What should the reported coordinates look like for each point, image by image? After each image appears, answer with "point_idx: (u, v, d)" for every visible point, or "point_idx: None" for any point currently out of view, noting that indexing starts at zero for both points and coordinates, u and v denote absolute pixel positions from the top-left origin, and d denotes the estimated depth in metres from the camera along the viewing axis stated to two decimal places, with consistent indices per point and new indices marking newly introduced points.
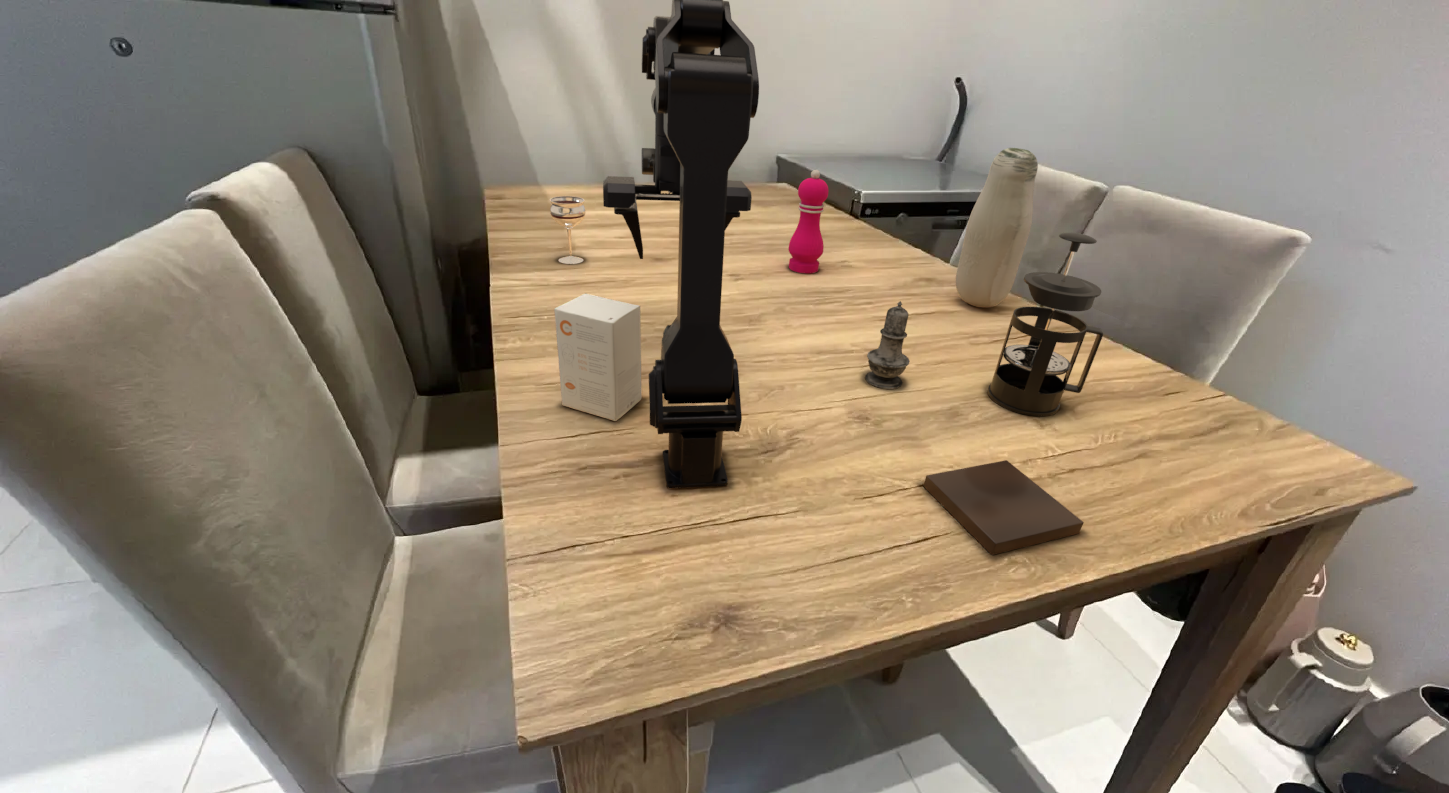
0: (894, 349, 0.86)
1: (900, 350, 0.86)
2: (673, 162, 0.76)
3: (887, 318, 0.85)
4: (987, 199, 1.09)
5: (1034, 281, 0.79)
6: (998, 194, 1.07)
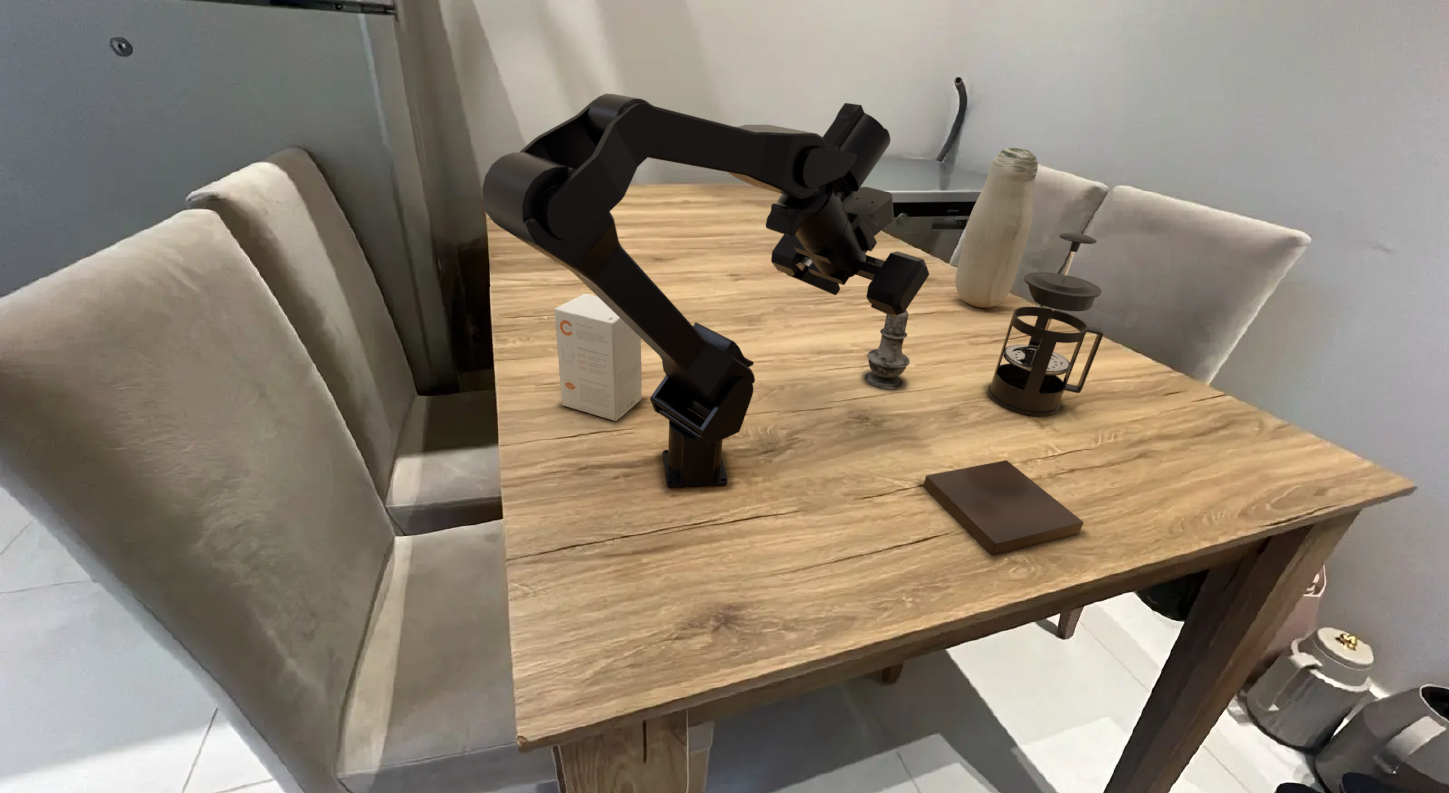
0: (894, 349, 0.86)
1: (900, 350, 0.86)
2: (811, 258, 0.69)
3: (887, 318, 0.85)
4: (987, 199, 1.09)
5: (1034, 281, 0.79)
6: (998, 194, 1.07)
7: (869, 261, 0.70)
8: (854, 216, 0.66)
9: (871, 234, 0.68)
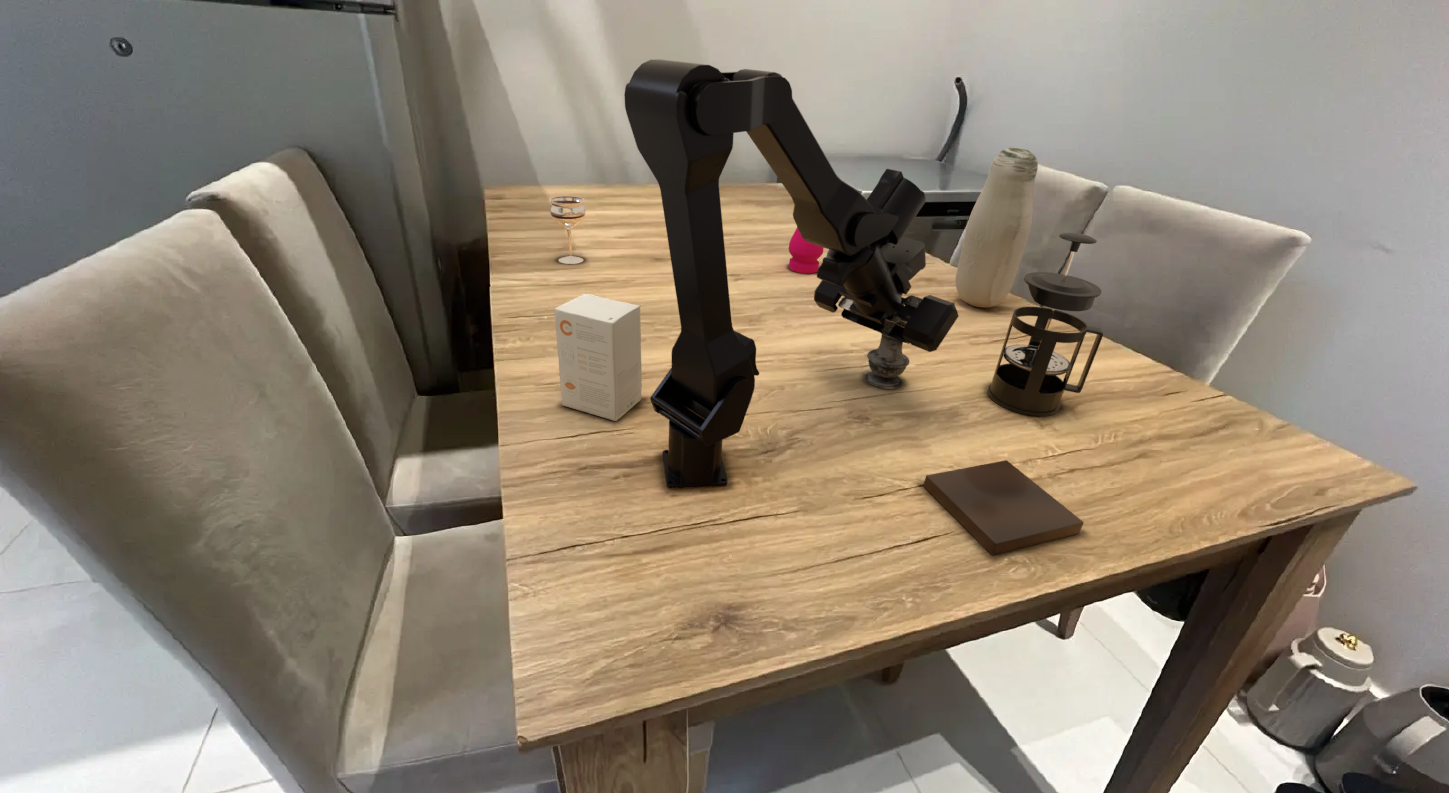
0: (894, 349, 0.86)
1: (900, 350, 0.86)
2: (853, 301, 0.78)
3: None
4: (987, 199, 1.09)
5: (1034, 281, 0.79)
6: (998, 194, 1.07)
7: None
8: (893, 265, 0.75)
9: (907, 280, 0.77)
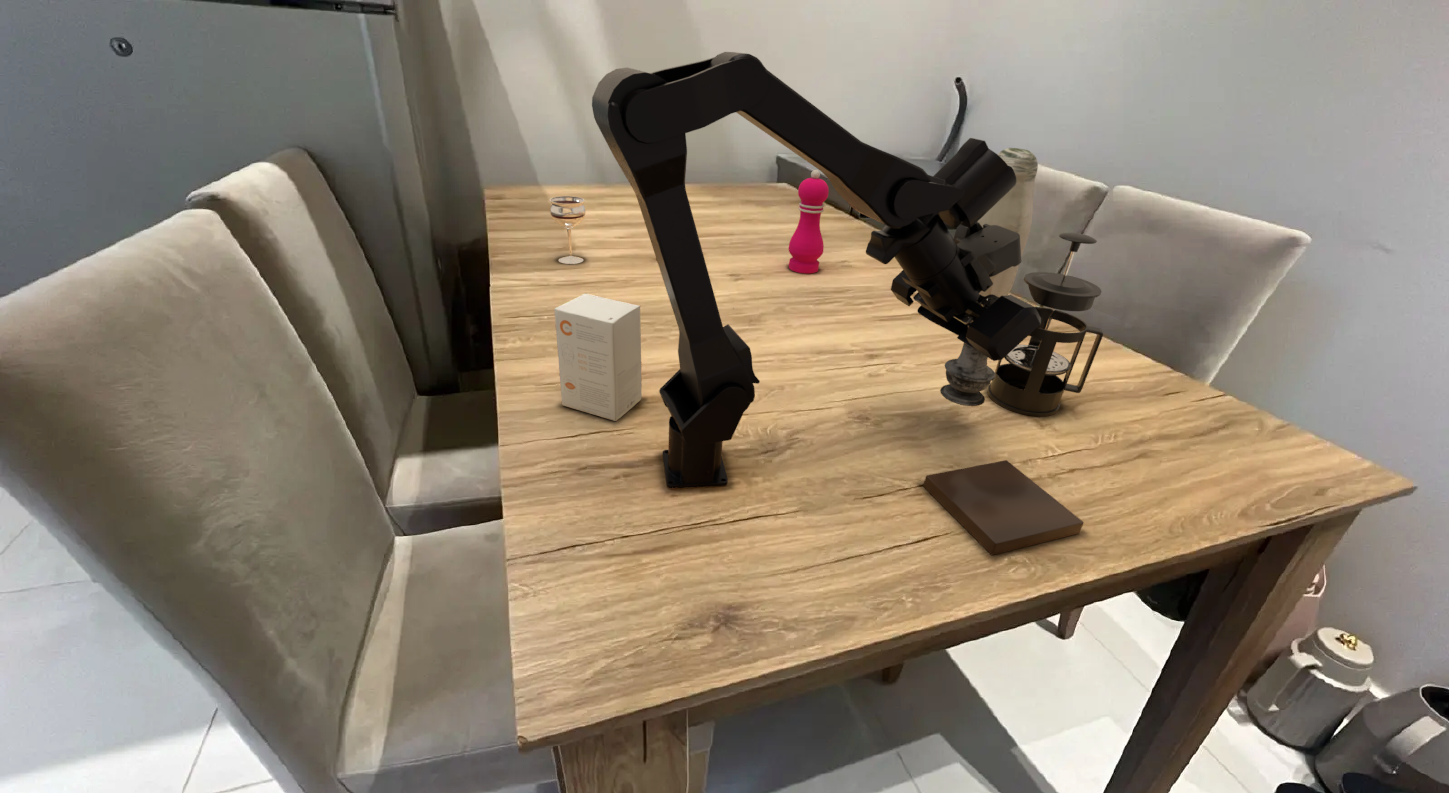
0: (974, 359, 0.73)
1: (982, 361, 0.74)
2: (917, 290, 0.68)
3: None
4: None
5: (1034, 281, 0.79)
6: None
7: None
8: (966, 253, 0.64)
9: (985, 274, 0.65)
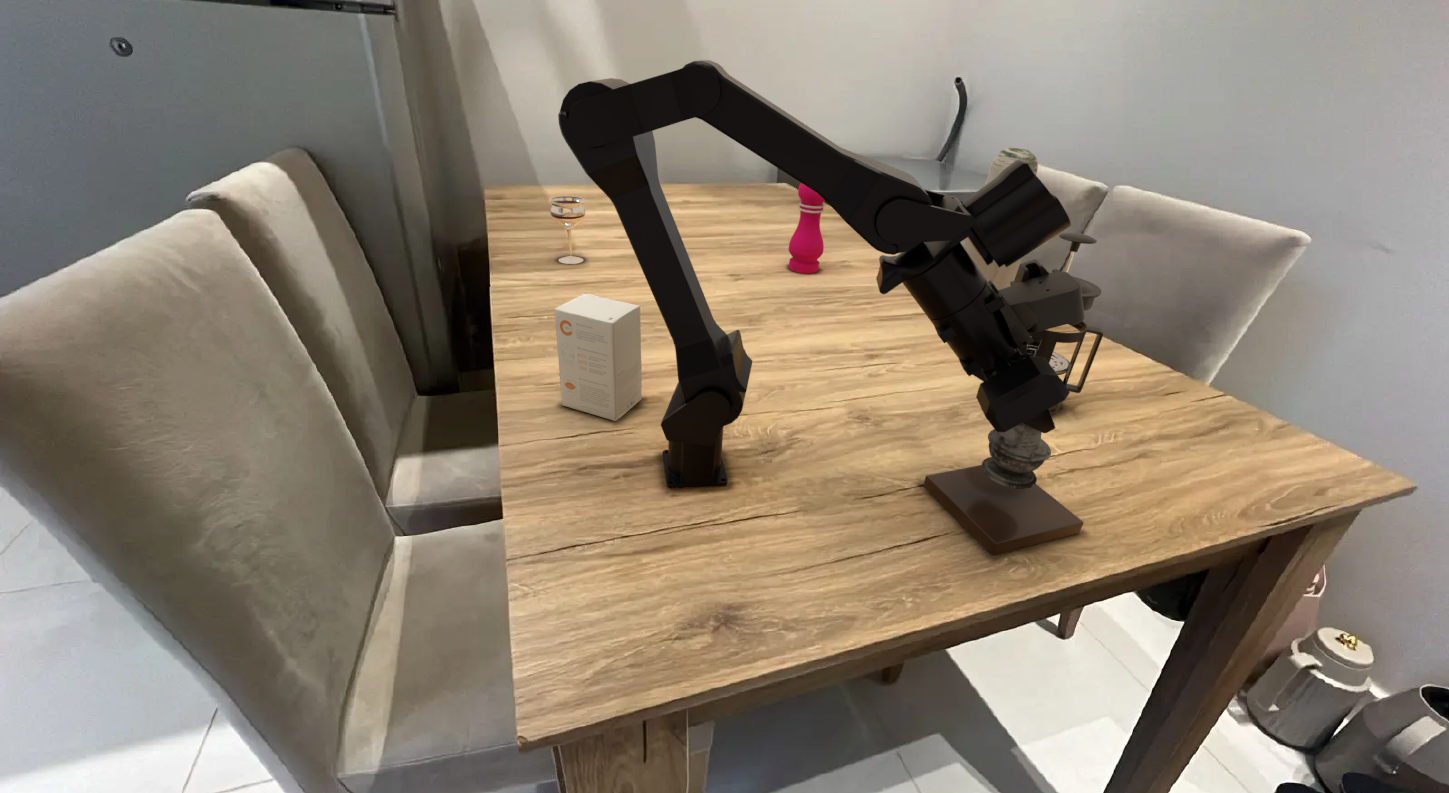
0: (1018, 431, 0.60)
1: (1030, 436, 0.60)
2: None
3: None
4: None
5: None
6: None
7: None
8: (994, 297, 0.53)
9: (1020, 327, 0.53)
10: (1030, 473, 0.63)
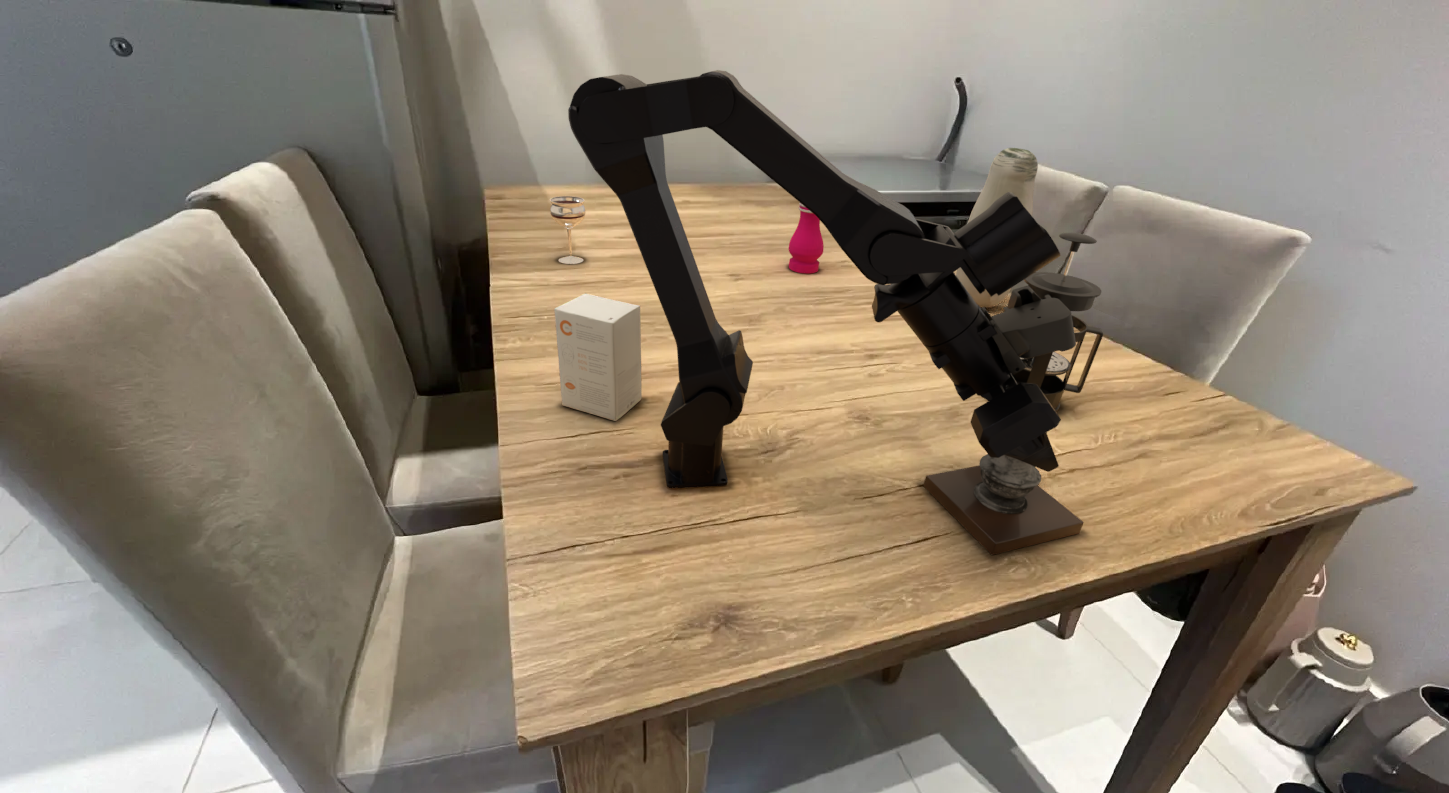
0: (1009, 458, 0.61)
1: (1020, 463, 0.61)
2: None
3: None
4: (987, 199, 1.09)
5: (1034, 281, 0.79)
6: (998, 194, 1.07)
7: (1009, 385, 0.56)
8: (987, 325, 0.54)
9: (1013, 353, 0.54)
10: (1021, 498, 0.64)
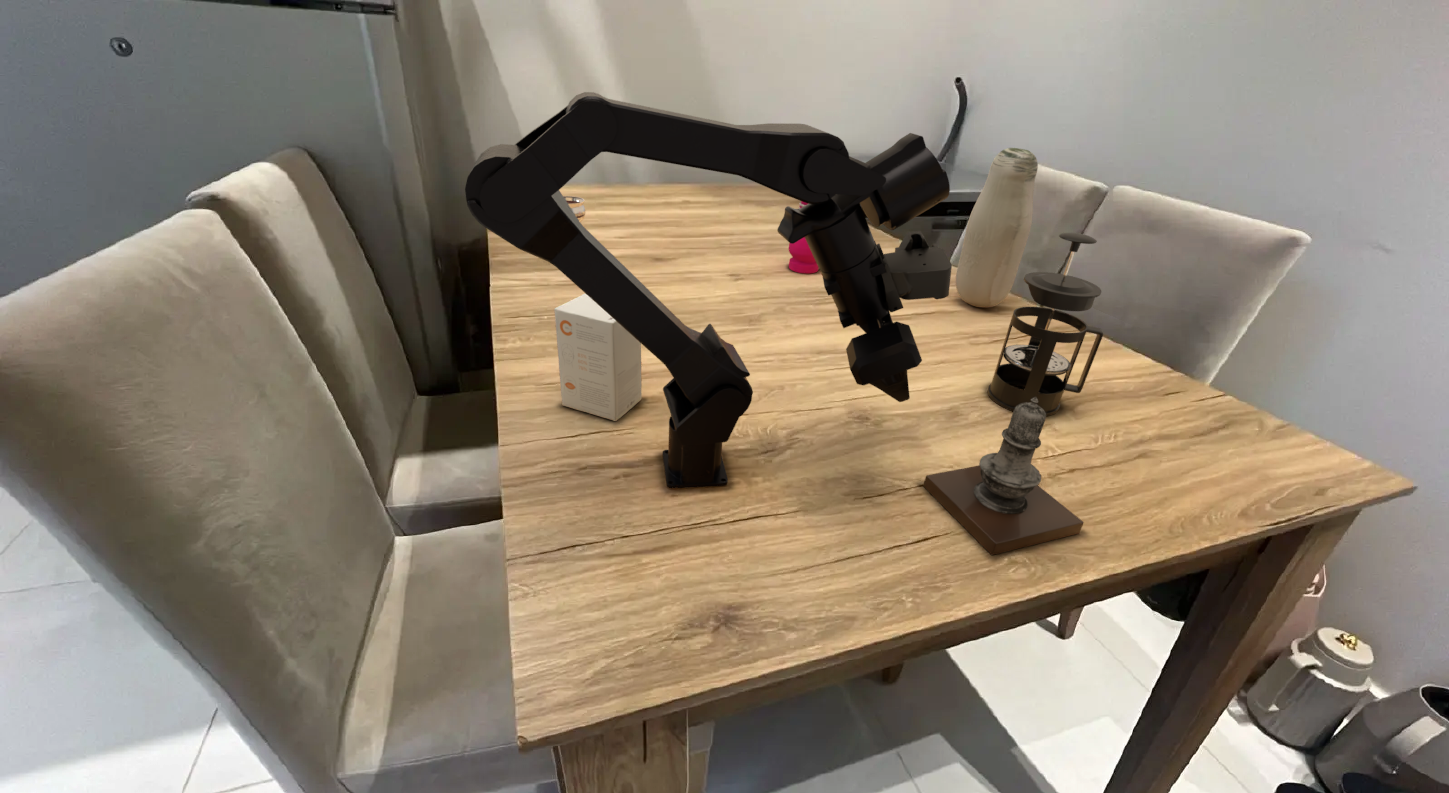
0: (1009, 458, 0.61)
1: (1020, 463, 0.61)
2: None
3: None
4: (987, 199, 1.09)
5: (1034, 281, 0.79)
6: (998, 194, 1.07)
7: (885, 321, 0.61)
8: (879, 263, 0.58)
9: (895, 293, 0.59)
10: (1021, 498, 0.64)
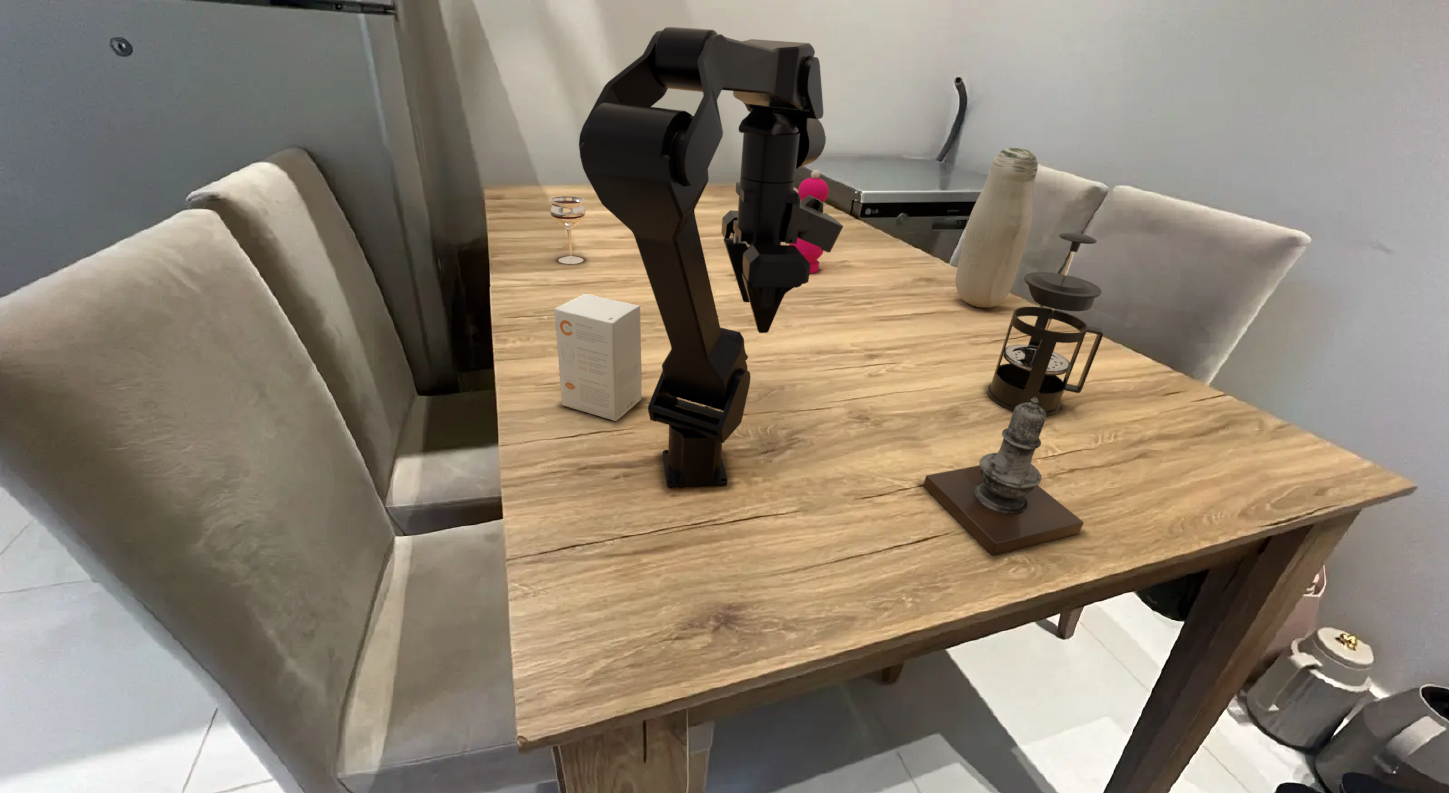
0: (1009, 458, 0.61)
1: (1020, 463, 0.61)
2: None
3: None
4: (987, 199, 1.09)
5: (1034, 281, 0.79)
6: (998, 194, 1.07)
7: None
8: (795, 193, 0.65)
9: (796, 226, 0.66)
10: (1021, 498, 0.64)
